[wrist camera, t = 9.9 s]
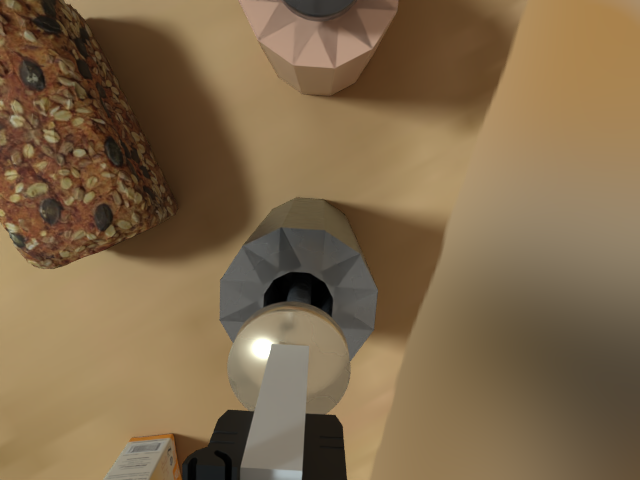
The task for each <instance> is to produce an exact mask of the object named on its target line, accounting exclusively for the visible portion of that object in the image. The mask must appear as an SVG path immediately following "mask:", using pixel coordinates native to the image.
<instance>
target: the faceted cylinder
mask: <svg viewBox="0 0 640 480" xmlns="http://www.w3.org/2000/svg"><path fill="white" fill-rule="evenodd" d="M293 272H305V273H311V274H312V287H311V303H310V305H312V306H315V307H317V308H319V309H321V310H322V311H324V312H325V313H327V314H328V315H329V316H331V317H332V318H333V319H334V320H335V321H336V323H337V324H338V325H339V327H340V328H341V330H342V331H343V333H344V336H345V338H346V341H347V345H348V352H349V359H350V361H351V360H352V358H353V357H354V356H355V354H356V353H357V352H358V350H359V349H360V348H361V346H362V345H363V344H364V342H365V341H366V340H367V338H368V337H369V336H370V334H371V333H372V332H373V330H374V323H375V314H376V304H377V294H378V289H377V286H376V284H375V282H374V279H373V277H372V274H371V272H370V270H369V267H368V265H367V263H366V260H365V258H364V255H363V253H362V251H361V248H360V246H359V243H358V241H357V239H356V237H355V235H354V233H353V231H352V229H351V226H350V224H349V222H348V220H347V218H346V216H345V214H344V213H342V212H341V211H339V210H338V209H336V208H335V207H333V206H332V205H330V204H329V203H327V202H326V201H324V200H323V199H310V198H297V197H296V198H294V199H292V200H290V201H288V202H286V203H284V204H282V205H280V206H278V207H276V208H274V209H272V210H271V212H270V213H269V214H268V215H267V217H266V218H265V219H264V220H263V221H262V223H261V224H260V225H259V226H258V227H257V229H256V230H255V231H254V232H253V234H252V235H251V236H250V237H249V238H248V240H247V241H246V242H245V243H244V245H243V246H242V248H241V249H240V251H239V253H238V254H237V256H236V257H235V259H234V260H233V262H232V263H231V265H230V266H229V268H228V269H227V271H226V273H225V274H224V276H223V277H222V278H221V280H220V319H219V320H220V321H221V323H222V325H223V327H224V328H225V330H226V332H227V333H228V335H229V337H230V339H231V340H232V342H233V343H234V341H235V339H236V336H237V334H238V332H239V330H240V329H241V327H242V325H243V324H244V323H245V321H246V320H247V319H248V318H249V317H250V316H251V315H253V314H254V313H255V312H257V311H258V310H260V309H262V308H264V307H266V306H268V305H271V304H275V303H279V302H287V297H288V293H289V288H290V284H291V279H292V275H293Z"/></svg>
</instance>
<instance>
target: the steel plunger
mask: <svg viewBox="0 0 640 480" xmlns="http://www.w3.org/2000/svg"><path fill="white" fill-rule="evenodd" d="M311 287H312V274H311V273H305V272H293V275H292V279H291V284H290V288H289V293H288V297H287V302H279V303H275V304H271V305H268V306H266V307H264V308H262V309H260V310H258V311H257V312H255V313H254V314H253V315H251V316H250V317H249V318H248V319H247V320H246V321H245V323H244V324H243V325H242V327H241V329H240V330H239V332H238V334H237V336H236V339H235V341H234V343H233V345H232V348H231V350H230V353H229V357H228V365H227V368H228V377H229V382H230V385H231V388H232V390H233V392H234V394H235V395H236V397H237V398H238V400H239V401H240V402H241V403H242V404H243V405H244V406H245V407H246V408H247V409H248V410H249V411H255V408H256V404H257V400H258V396H259V392H260V388H261V384H262V380H263V376H264V372H265V368H266V364H267V360H268V356H269V352H270V348H271V344H285V345H301V346H309V359H308V377H307V395H306V413H309V414H326V413H328V412H329V411H330V410H331V409H333V408H334V407H335V406H336V405H337V403H338V402H339V401H340V400H341V398H342V397H343V395H344V393H345V391H346V389H347V386H348V383H349V379H350V359H349V352H348V345H347V341H346V338H345V336H344V333H343V331H342V330H341V328H340V327H339V325H338V324H337V323H336V321H335V320H334V319H333V318H332V317H331V316H329V315H328V314H327V313H325V312H324V311H322V310H321V309H319V308H317V307H315V306H312V305H310V303H311Z"/></svg>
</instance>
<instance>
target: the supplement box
mask: <svg viewBox="0 0 640 480" xmlns="http://www.w3.org/2000/svg"><path fill="white" fill-rule="evenodd" d="M103 480H182V478H181V474H180V469H179V465H178V460H177V454H176V446H175V440H174V435H173V434H166V435H155V436H145V437H135V438H131V439H130V441H129V442H128V444H127V445H126V447H125V448H124V450H123V451H122V453H121V454H120V456H119V457H118V459H117V460H116V461H115V463H114V465H113V466H112V468H111V469H110V470H109V472H108V473H107V475H106V476H105V478H104V479H103Z"/></svg>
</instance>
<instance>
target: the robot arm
mask: <svg viewBox="0 0 640 480" xmlns="http://www.w3.org/2000/svg"><path fill="white" fill-rule="evenodd" d="M308 359H309V346H301V345H285V344H271V348H270V352H269V356H268V360H267V364H266V368H265V372H264V376H263V380H262V384H261V388H260V392H259V396H258V400H257V404H256V408H255V411H240V410H228V411H226V412H225V413H224V414H223V415H222V416H221V417H220V418H219V419H218V421H217V424H216V426H215V429H214V433H213V434H212V437H211V439H210V443H209V445H208V447H205V448H203V449H200V450H197V451H195V452H194V453H192V454H191V455H189V456H188V457H187V458H186V460H185V461H184V463H183V464H182V474H183V480H347V475H346V463H345V450H344V440H343V426H342V424H341V423H340V421H339V420H338V418H337V417H336V415H325V414H309V413H306V395H307V377H308Z"/></svg>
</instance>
